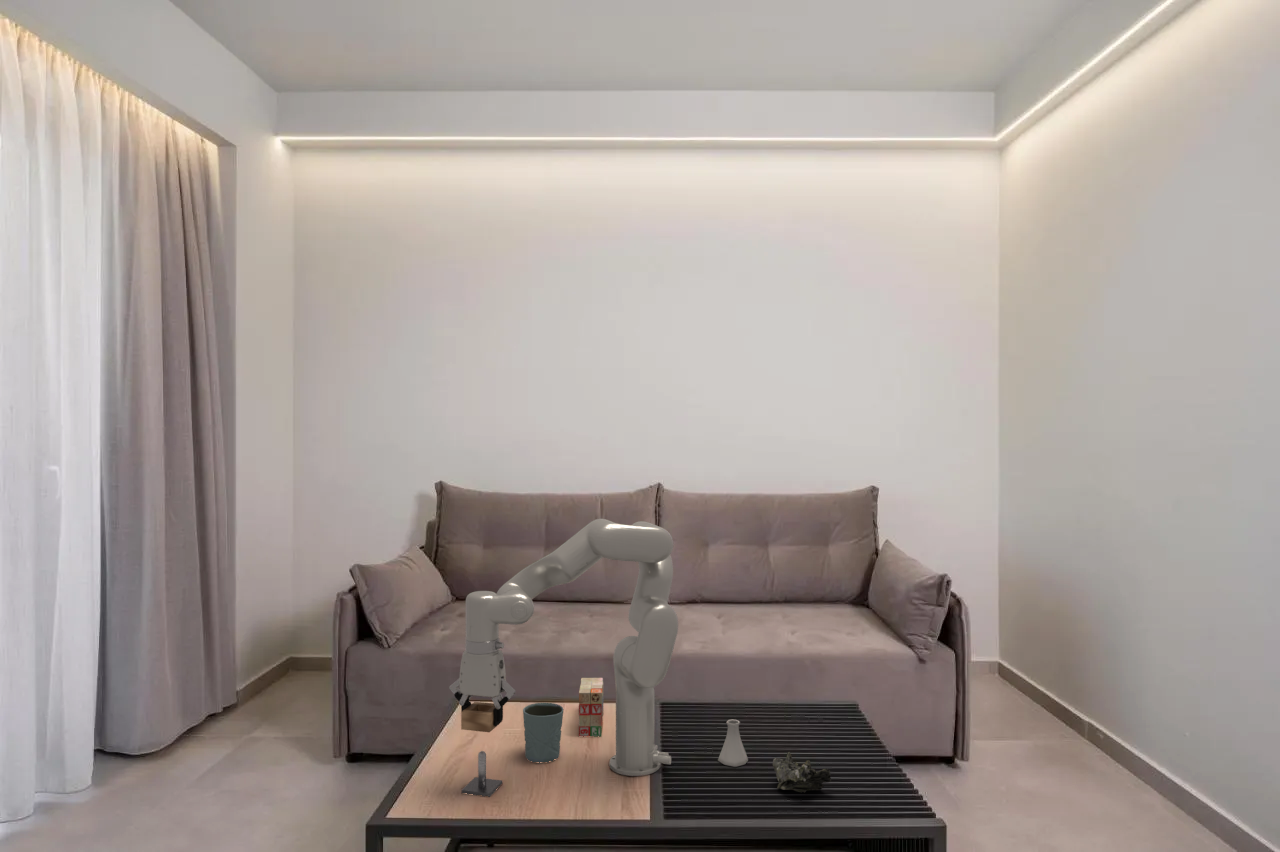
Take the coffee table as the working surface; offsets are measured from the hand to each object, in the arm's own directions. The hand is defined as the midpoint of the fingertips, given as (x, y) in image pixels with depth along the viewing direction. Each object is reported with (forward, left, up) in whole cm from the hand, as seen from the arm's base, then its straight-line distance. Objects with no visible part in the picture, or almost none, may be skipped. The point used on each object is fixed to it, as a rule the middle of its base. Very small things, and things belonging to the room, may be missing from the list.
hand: (482, 722), depth 194 cm
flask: (-54, -30, -16) cm, 64 cm away
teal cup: (-7, -21, -16) cm, 27 cm away
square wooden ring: (0, 0, -1) cm, 1 cm away
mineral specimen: (-71, -20, -16) cm, 76 cm away
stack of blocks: (-12, -46, -16) cm, 50 cm away
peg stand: (0, 0, -16) cm, 16 cm away
